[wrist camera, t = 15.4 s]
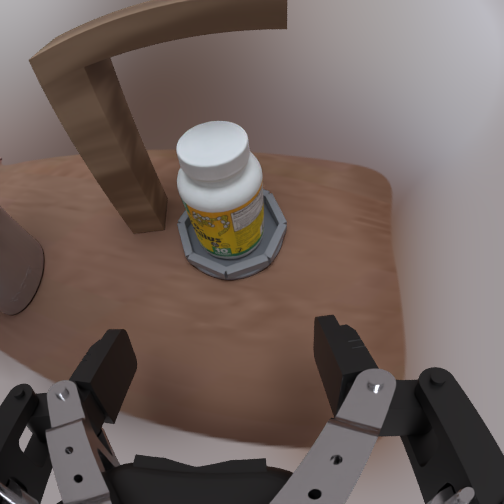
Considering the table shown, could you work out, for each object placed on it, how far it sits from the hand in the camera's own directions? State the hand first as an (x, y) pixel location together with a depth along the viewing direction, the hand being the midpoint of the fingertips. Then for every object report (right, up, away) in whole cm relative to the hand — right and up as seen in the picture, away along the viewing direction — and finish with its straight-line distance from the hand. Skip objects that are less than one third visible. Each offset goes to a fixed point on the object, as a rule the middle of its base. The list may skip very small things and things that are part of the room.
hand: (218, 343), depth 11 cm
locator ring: (0, +5, +12) cm, 13 cm away
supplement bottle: (0, +5, +12) cm, 13 cm away
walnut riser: (-3, +8, +14) cm, 16 cm away
